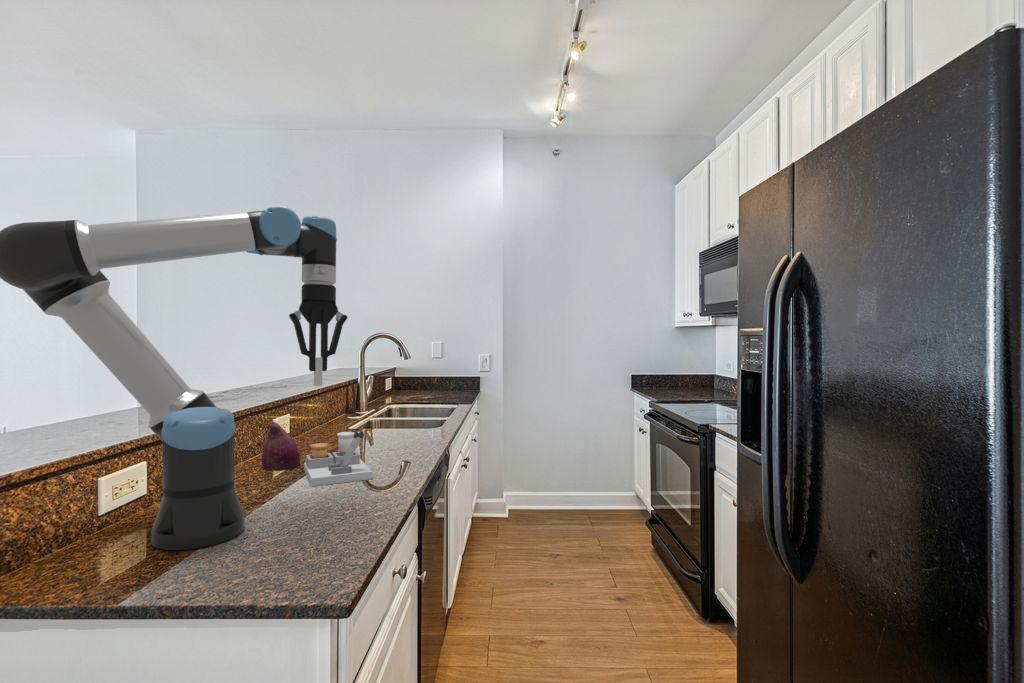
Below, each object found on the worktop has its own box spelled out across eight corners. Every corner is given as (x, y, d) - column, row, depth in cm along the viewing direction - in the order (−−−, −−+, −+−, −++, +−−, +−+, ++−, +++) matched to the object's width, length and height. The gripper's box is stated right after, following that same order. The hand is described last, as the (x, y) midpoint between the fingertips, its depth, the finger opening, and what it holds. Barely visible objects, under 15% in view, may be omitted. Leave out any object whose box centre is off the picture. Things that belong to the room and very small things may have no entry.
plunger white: (338, 453, 143) (338, 435, 143) (336, 450, 147) (336, 432, 147) (355, 451, 145) (355, 433, 145) (352, 448, 149) (352, 431, 149)
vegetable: (276, 483, 143) (267, 434, 139) (255, 473, 149) (246, 425, 144) (309, 466, 152) (302, 420, 147) (288, 457, 157) (280, 412, 153)
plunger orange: (311, 465, 140) (311, 447, 140) (309, 461, 144) (309, 443, 144) (329, 463, 142) (329, 445, 142) (327, 460, 146) (327, 442, 146)
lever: (338, 467, 135) (358, 430, 137) (336, 464, 138) (355, 428, 140) (347, 470, 136) (366, 434, 138) (345, 468, 139) (364, 432, 141)
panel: (311, 486, 130) (311, 468, 130) (304, 469, 146) (304, 453, 146) (372, 479, 137) (372, 462, 137) (358, 463, 153) (358, 448, 153)
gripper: (290, 281, 115) (289, 387, 115) (350, 284, 121) (349, 385, 121) (287, 284, 121) (286, 384, 121) (344, 287, 127) (343, 383, 128)
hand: (317, 385), depth 121 cm, fingers closed
